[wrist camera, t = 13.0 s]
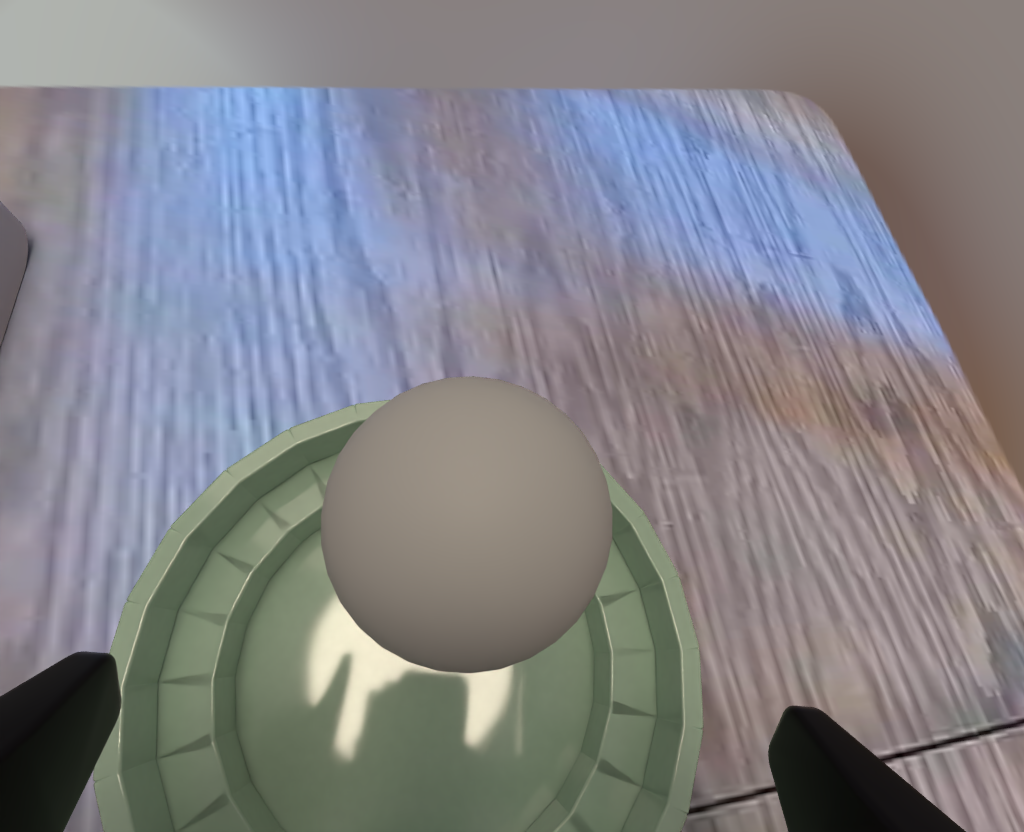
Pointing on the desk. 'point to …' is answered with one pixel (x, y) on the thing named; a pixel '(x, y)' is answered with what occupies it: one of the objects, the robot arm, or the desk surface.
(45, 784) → the robot arm
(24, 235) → the charger
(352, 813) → the bowl
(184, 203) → the desk surface
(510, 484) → the lightbulb
